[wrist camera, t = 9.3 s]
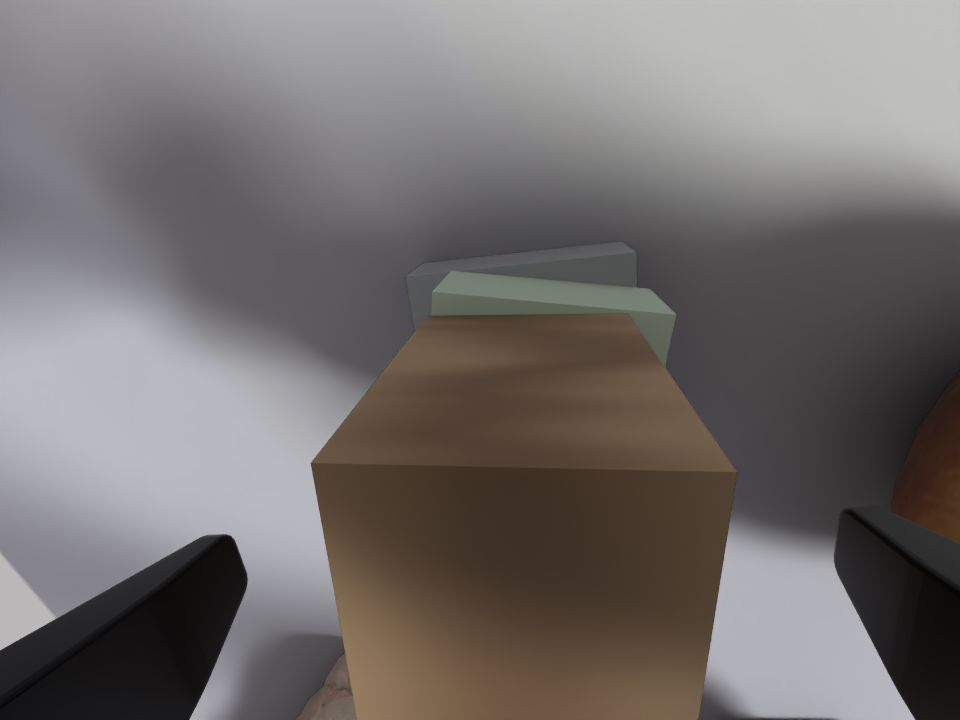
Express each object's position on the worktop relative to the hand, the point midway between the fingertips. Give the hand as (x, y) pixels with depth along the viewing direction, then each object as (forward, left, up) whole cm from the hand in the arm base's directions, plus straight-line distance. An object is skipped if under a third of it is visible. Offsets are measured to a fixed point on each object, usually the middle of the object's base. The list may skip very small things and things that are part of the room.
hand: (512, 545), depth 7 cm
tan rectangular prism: (0, +1, -6) cm, 6 cm away
